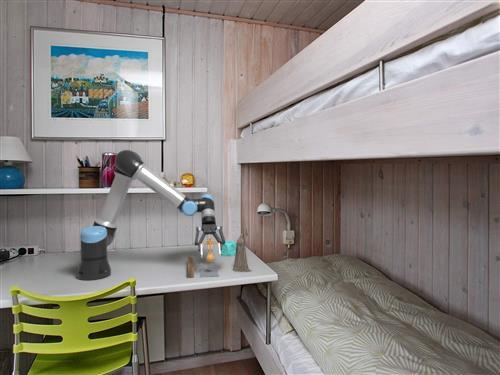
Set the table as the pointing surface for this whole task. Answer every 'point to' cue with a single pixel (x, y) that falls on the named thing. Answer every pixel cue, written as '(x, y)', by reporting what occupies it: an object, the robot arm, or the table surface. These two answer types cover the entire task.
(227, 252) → the decorative dice
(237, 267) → the wizard figurine
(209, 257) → the figurine
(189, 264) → the walnut rail
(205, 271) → the mat
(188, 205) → the robot arm
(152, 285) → the table surface
